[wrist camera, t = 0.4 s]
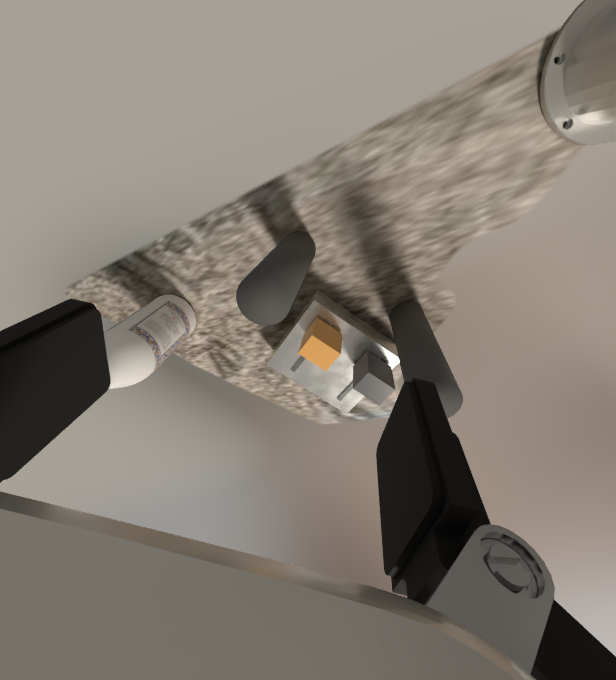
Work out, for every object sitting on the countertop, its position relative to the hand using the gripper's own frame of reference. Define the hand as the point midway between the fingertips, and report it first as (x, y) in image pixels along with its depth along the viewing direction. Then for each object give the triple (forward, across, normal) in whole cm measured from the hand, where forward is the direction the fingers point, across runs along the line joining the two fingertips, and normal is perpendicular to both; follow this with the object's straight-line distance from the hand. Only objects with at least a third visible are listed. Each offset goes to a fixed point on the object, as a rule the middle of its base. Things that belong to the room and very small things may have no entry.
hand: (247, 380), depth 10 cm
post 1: (+33, +3, +4) cm, 34 cm away
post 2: (+33, -13, +10) cm, 37 cm away
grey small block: (+29, -10, +16) cm, 35 cm away
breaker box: (+33, -4, +17) cm, 38 cm away
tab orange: (+29, -2, +13) cm, 32 cm away
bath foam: (+34, +20, +18) cm, 43 cm away
